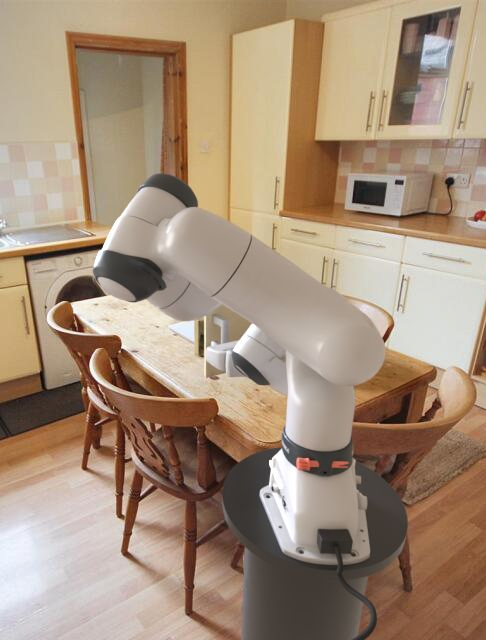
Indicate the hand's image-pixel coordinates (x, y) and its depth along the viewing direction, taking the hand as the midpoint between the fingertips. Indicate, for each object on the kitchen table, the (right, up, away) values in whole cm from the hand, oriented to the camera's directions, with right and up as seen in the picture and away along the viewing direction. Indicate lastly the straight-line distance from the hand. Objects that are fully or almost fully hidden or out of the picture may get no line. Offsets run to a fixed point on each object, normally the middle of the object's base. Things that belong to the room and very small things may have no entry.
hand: (228, 340), depth 125 cm
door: (+7, -10, +12) cm, 17 cm away
